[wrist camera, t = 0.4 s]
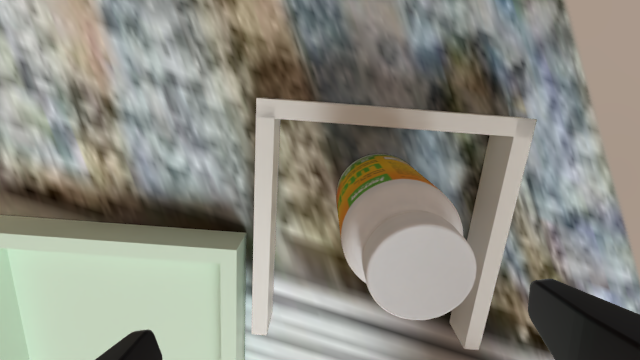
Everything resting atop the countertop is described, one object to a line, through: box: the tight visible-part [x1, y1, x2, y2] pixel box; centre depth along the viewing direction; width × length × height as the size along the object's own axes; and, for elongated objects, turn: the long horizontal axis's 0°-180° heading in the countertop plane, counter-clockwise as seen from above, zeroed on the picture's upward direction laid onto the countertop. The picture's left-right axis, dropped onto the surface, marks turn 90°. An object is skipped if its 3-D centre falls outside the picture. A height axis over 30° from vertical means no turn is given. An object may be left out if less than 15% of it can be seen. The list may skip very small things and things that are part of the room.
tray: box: [0, 215, 246, 360], centre depth 22 cm, size 17×17×2 cm
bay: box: [252, 98, 537, 350], centre depth 20 cm, size 15×15×2 cm
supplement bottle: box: [336, 154, 477, 320], centre depth 16 cm, size 5×5×10 cm
